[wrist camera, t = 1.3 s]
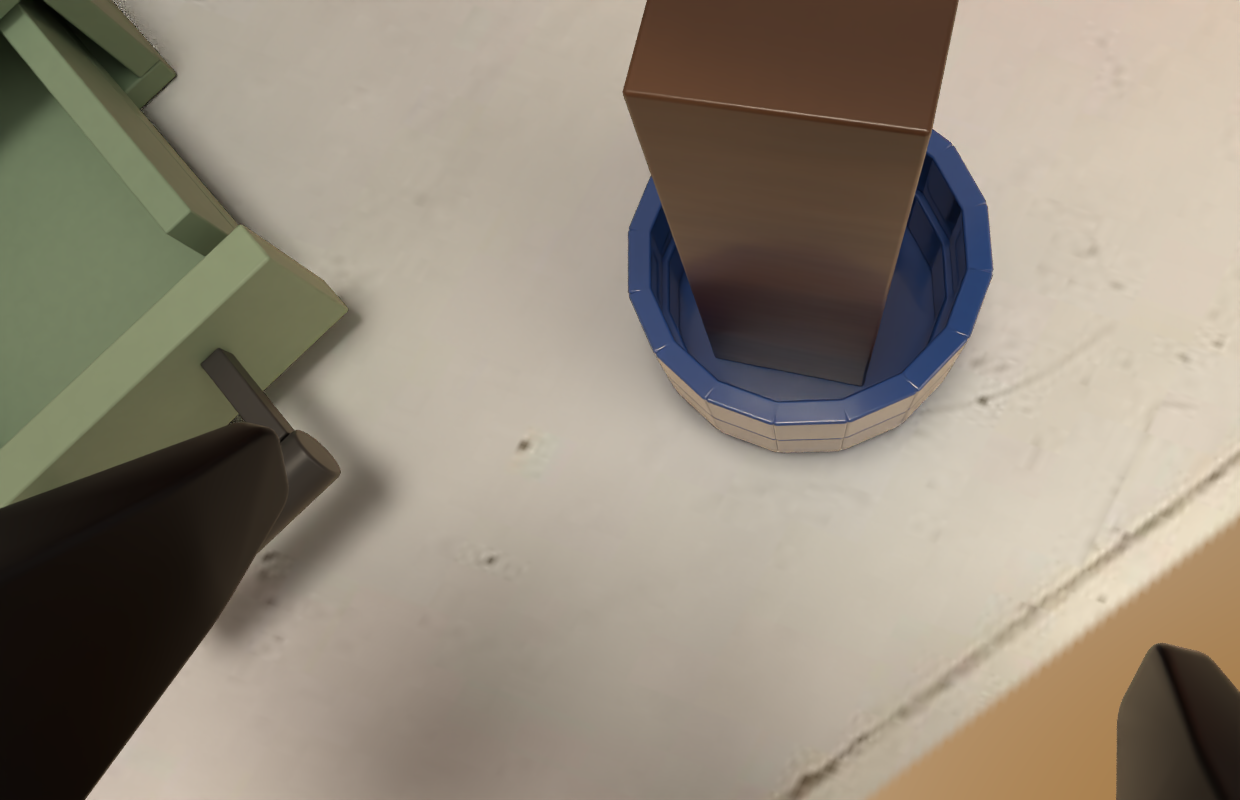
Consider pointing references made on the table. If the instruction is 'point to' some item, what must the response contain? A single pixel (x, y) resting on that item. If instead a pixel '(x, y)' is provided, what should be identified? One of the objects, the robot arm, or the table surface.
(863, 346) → the walnut block
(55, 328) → the drawer
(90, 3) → the cabinet
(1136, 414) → the table surface
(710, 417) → the blue bowl
